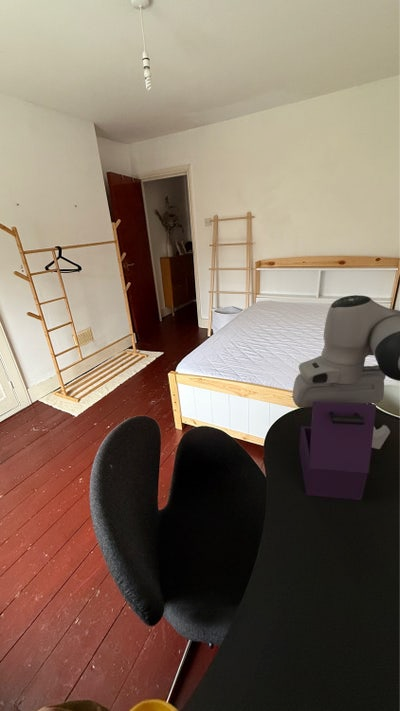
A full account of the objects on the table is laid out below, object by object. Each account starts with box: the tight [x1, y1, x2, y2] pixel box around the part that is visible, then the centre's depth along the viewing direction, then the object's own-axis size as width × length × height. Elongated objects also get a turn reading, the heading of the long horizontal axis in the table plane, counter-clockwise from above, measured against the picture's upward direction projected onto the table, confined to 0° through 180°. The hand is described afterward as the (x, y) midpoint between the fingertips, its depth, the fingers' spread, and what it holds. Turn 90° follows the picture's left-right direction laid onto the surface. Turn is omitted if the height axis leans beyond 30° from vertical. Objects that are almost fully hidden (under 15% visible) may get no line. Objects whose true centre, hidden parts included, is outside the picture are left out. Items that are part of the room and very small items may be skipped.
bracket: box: [371, 424, 391, 450], centre depth 90 cm, size 13×7×8 cm, turn 171°
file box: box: [298, 425, 368, 501], centre depth 77 cm, size 16×13×9 cm
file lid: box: [309, 402, 377, 474], centre depth 64 cm, size 16×13×5 cm
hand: (333, 417), depth 73 cm, fingers closed on ink box, 5 cm apart
